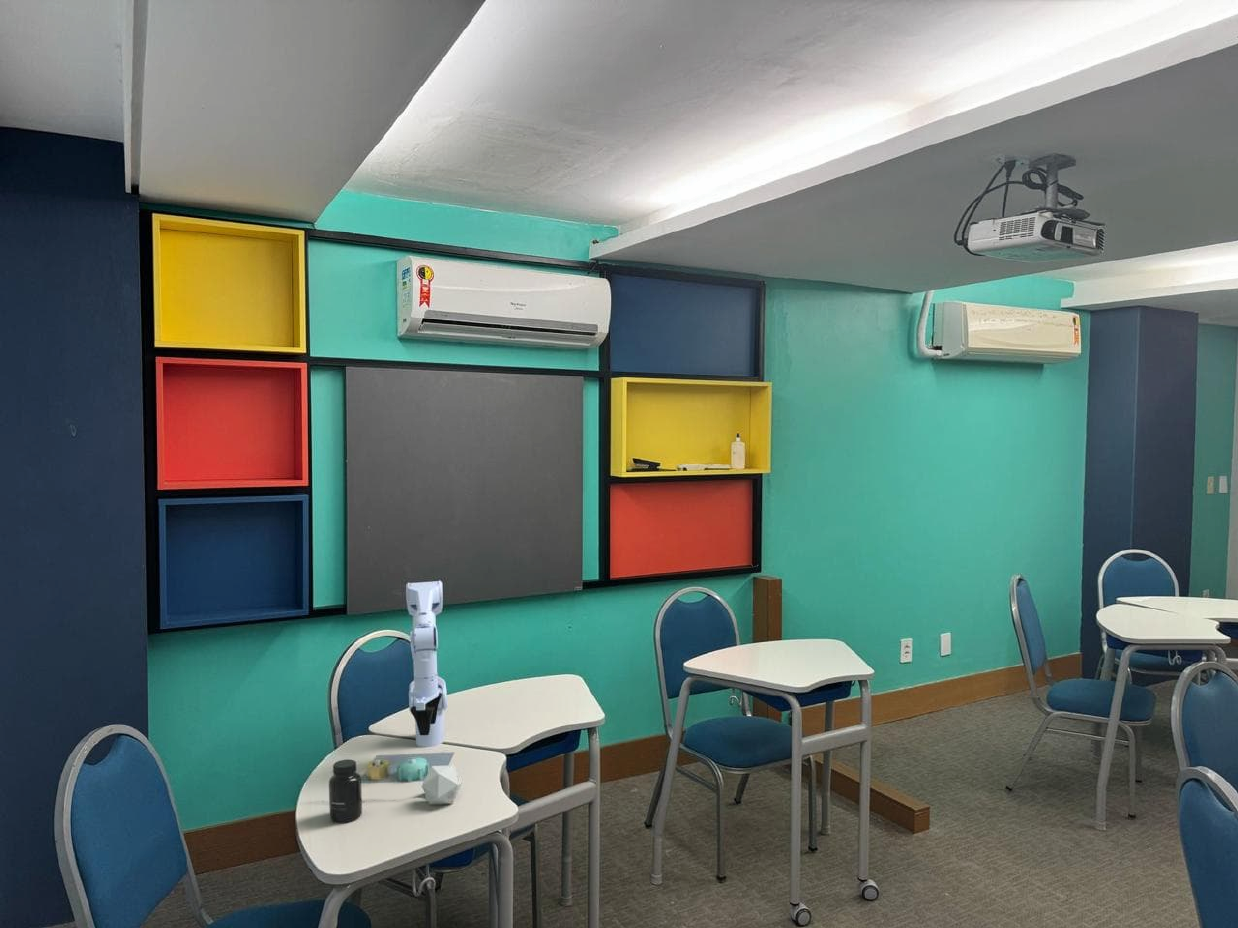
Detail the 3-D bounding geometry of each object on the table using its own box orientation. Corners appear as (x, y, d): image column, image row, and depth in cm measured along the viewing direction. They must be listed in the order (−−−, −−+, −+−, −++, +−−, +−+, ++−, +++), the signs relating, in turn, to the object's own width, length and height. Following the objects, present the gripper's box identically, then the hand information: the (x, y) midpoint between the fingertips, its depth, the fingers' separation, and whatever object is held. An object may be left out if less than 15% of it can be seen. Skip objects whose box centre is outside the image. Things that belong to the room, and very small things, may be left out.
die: (442, 816, 184) (466, 775, 186) (410, 795, 185) (434, 755, 188) (449, 813, 192) (472, 774, 194) (418, 793, 193) (441, 754, 195)
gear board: (377, 758, 215) (376, 740, 215) (454, 756, 216) (453, 737, 216) (357, 787, 198) (356, 767, 198) (441, 784, 199) (440, 764, 198)
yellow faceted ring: (370, 772, 204) (370, 759, 204) (391, 771, 205) (390, 758, 204) (364, 781, 199) (364, 767, 199) (385, 780, 200) (385, 767, 199)
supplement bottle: (331, 826, 179) (328, 771, 178) (328, 813, 185) (326, 760, 185) (364, 819, 182) (362, 765, 181) (360, 807, 188) (358, 754, 187)
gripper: (416, 667, 215) (418, 719, 215) (402, 684, 200) (404, 740, 201) (443, 666, 215) (445, 718, 216) (431, 684, 200) (434, 739, 201)
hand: (427, 729), depth 208 cm, fingers open, 7 cm apart
